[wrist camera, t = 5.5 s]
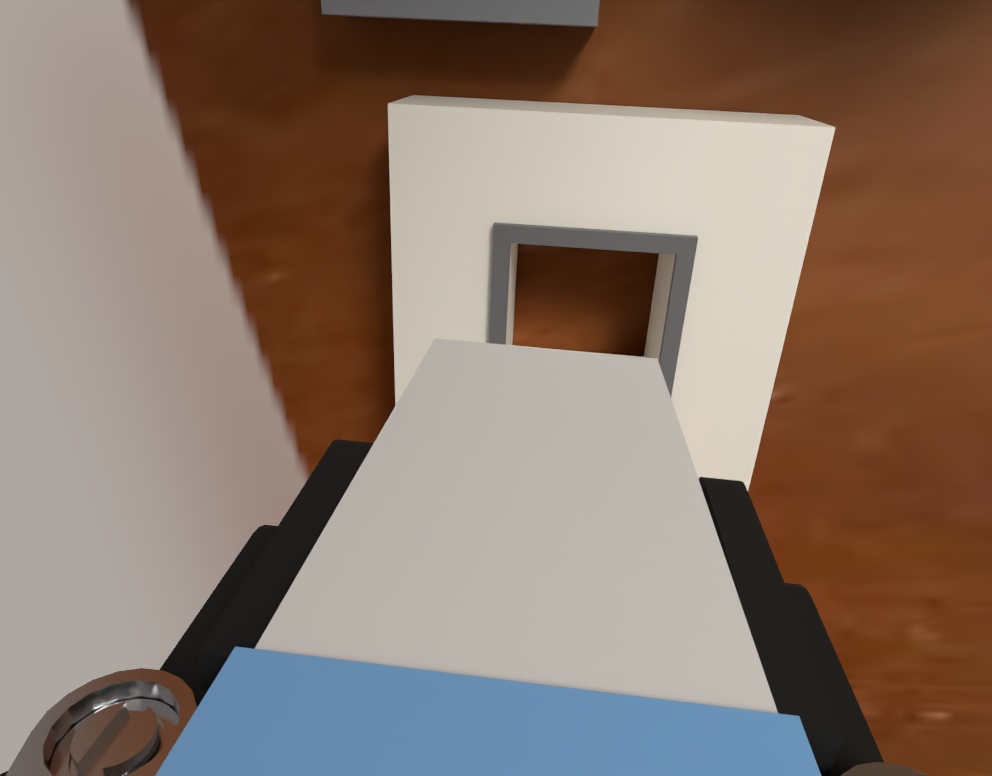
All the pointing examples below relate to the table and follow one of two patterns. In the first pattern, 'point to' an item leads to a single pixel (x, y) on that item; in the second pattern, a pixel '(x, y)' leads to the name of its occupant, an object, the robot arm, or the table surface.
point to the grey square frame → (473, 10)
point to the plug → (508, 598)
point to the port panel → (612, 236)
